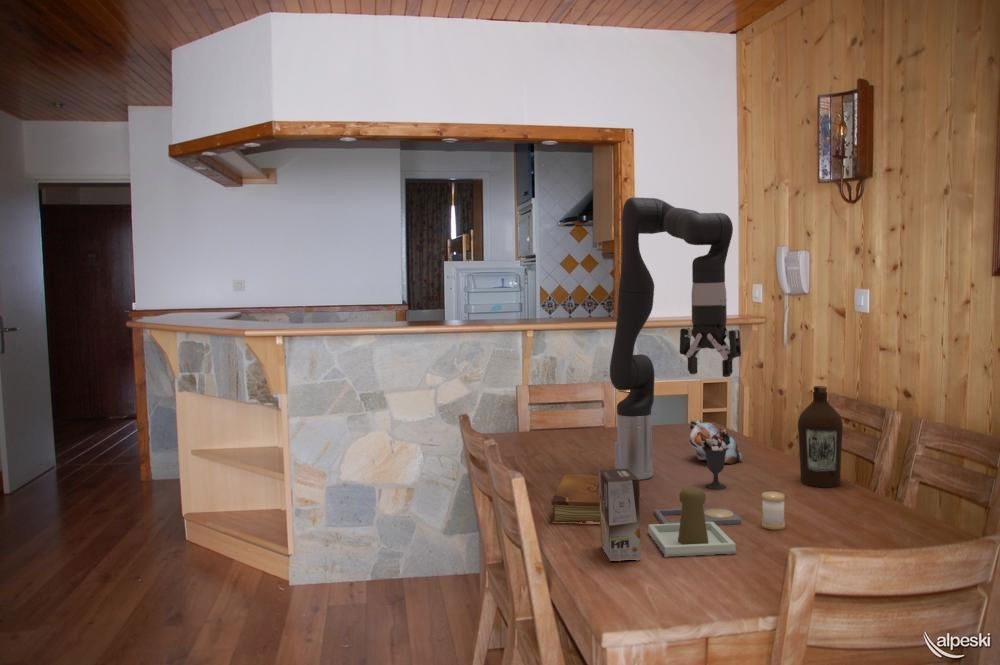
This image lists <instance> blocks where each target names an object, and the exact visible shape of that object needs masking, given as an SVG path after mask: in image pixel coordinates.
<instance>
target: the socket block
mask: <svg viewBox="0 0 1000 665" xmlns="http://www.w3.org/2000/svg"><path fill="white" fill-rule="evenodd" d="M703 509H704V516H705V522H714V523H715V524H716V525H717V526H721V525H722V524H728V525H742V519H741V518H740V517H739V516H738V515H737V514H736V513H734V512H733V510H731V508H729V507H725V506H724V507H723V506H721V507H703ZM681 511H682V508H665V509H663V508H662V509H653V515H654V514H655V515H654V516H655V517H656V519H657V518H658V519H659V520H658V519H657V520H658V521H659V523H660V524H661V523H662V524H672V523H680V521H668V519H666V518H665V516H671V515H673V516H674V515H681ZM722 526H723V525H722Z"/></svg>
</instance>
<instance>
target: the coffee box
mask: <svg viewBox="0 0 1000 665" xmlns="http://www.w3.org/2000/svg"><path fill="white" fill-rule="evenodd" d="M598 476H599V495H600V525H599V526H600V547H601V546H602V548H603V550H604V551H603V550H602V551H603V553H604V552H605V553H606V555H607V556H608V558H609V559H610V560H618V559H639V558H640V559H641V528H640V527H641V526H640V525H641V524H640V523H641V521H640V497H639V482H640V480H639V479H638V478H637V477H636V476H635V475H634V474H633V473H632V472H631V471H630V470H629V469H615V468H613V469H602V470H601V469H600V470H598ZM602 548H601V549H602ZM605 553H604V554H605ZM606 555H605V556H606ZM607 556H606V557H607ZM608 558H607V559H608Z"/></svg>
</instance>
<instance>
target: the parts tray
mask: <svg viewBox="0 0 1000 665" xmlns="http://www.w3.org/2000/svg"><path fill="white" fill-rule="evenodd" d="M647 528H648V530H647V531H648V533H649V534H650V535H649V534H648V535H649V537H650V536H651V537H652V538H651V537H650V538H651V539H653V540H654V541H655V542H654V541H653V540H652V541H653V542H654V544H655V543H656V544H657V545H656V544H655V545H656V547H657V546H658V547H659V548H660V549H659V548H658V547H657V548H658V549H659V551H660V550H661V551H662V552H661V551H660V552H661V554H662V553H663V554H664V555H665V556H686V557H696V556H695V555H706V556H716V555H715V554H727V555H736V554H737V544H736V543H735V542H734V541H733V540H732V539H731V538H730V537H729V536H728V535H727V534H726V533H725V532H724V531H723V530H722V529H721V528H720V527H719V525H716V524H715V523H714V522H706V529H707V536H708V544H689V545H682V544H680V543H679V542H678V536H679V528H680V523H672V524H661V523H654V524H653V523H652V524H648V525H647ZM663 554H662V555H663ZM664 555H663V556H664ZM693 555H694V556H693Z"/></svg>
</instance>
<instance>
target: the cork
mask: <svg viewBox="0 0 1000 665" xmlns="http://www.w3.org/2000/svg"><path fill="white" fill-rule="evenodd" d="M678 498H679V502H680V503H681V509H682V511H681V514H680V521H679V522H680V528H679V536H678V542H679V543H680V544H682V545H689V544H708V536H707V529H706V522H705V516H704V509H703V508H704V504H705V502H706V500H707V499H706V498H707V496H706V493H705V491H704V490H703V489H702V488H699V487H695V486H694V487H692V486H691V487H690V486H689V487H684V488H682V489H681V490H680V493H679V497H678Z"/></svg>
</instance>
